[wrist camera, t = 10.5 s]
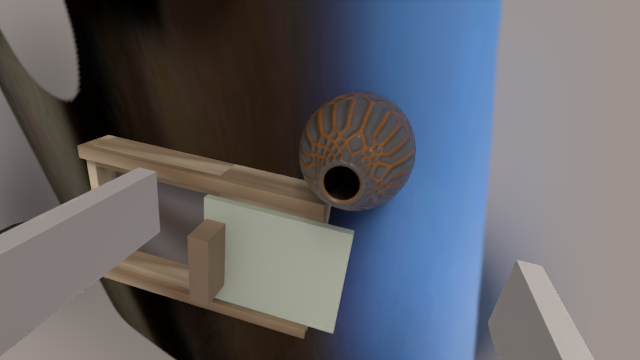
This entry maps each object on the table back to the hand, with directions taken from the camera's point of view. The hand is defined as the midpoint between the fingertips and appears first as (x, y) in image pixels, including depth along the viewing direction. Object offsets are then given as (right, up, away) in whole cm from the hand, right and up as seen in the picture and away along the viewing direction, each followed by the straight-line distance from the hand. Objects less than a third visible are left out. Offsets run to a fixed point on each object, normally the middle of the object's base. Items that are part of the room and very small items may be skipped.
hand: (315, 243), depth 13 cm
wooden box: (-9, -2, +18) cm, 21 cm away
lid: (-3, -4, +15) cm, 16 cm away
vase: (+3, +6, +12) cm, 14 cm away
